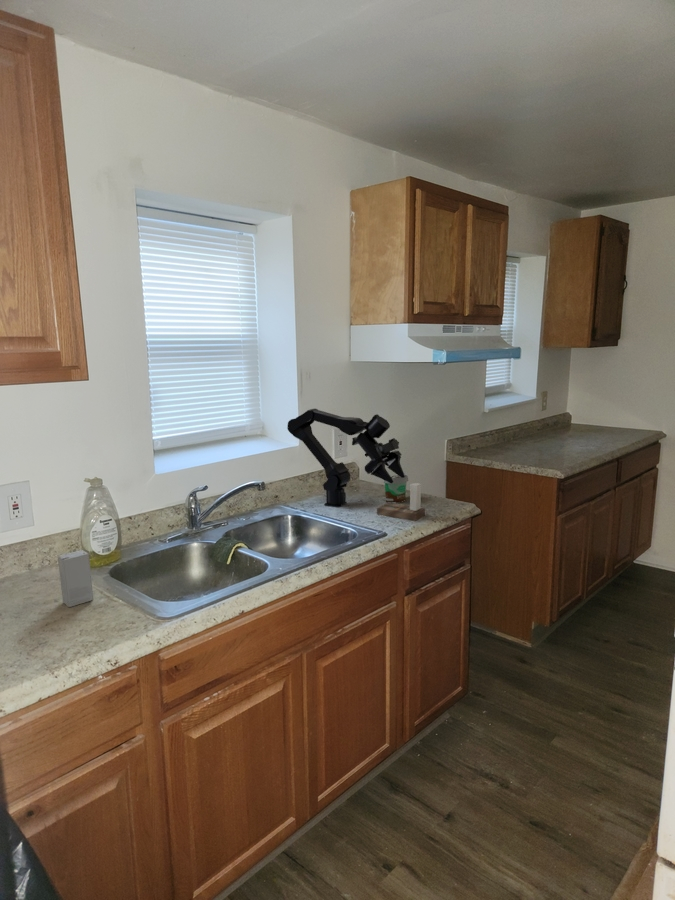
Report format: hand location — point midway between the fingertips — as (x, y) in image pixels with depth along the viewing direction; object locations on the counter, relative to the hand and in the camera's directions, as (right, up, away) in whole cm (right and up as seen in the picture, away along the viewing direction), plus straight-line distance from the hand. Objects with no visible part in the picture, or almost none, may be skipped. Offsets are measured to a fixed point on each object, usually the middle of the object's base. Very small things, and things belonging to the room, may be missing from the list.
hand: (398, 479), depth 210 cm
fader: (+6, -10, -2) cm, 12 cm away
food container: (+2, -9, +20) cm, 22 cm away
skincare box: (-84, -26, -67) cm, 110 cm away
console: (+1, -13, +2) cm, 13 cm away
